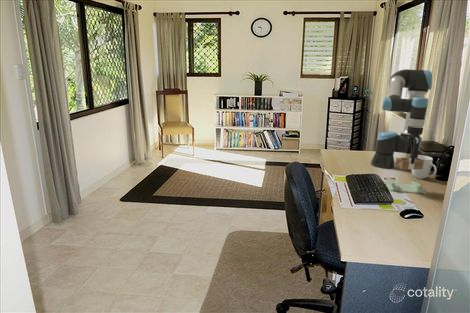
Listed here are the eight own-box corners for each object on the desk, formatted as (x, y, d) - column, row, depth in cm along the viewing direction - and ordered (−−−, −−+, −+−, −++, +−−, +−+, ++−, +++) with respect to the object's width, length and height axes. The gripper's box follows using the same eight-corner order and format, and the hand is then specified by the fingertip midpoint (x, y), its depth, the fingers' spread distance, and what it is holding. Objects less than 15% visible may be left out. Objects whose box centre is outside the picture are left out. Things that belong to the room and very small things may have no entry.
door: (394, 166, 198) (396, 156, 197) (414, 166, 201) (416, 156, 199) (401, 169, 192) (403, 159, 191) (422, 169, 195) (424, 159, 193)
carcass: (384, 183, 208) (385, 174, 206) (418, 186, 205) (420, 178, 203) (389, 190, 195) (391, 182, 194) (426, 194, 192) (428, 185, 191)
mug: (438, 180, 217) (443, 159, 213) (429, 183, 211) (433, 162, 207) (415, 173, 228) (419, 154, 225) (405, 175, 223) (409, 156, 219)
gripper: (403, 122, 201) (396, 161, 207) (414, 129, 181) (406, 171, 187) (417, 123, 200) (410, 162, 206) (429, 130, 180) (421, 173, 186)
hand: (408, 166), depth 196 cm, fingers closed on door, 8 cm apart
